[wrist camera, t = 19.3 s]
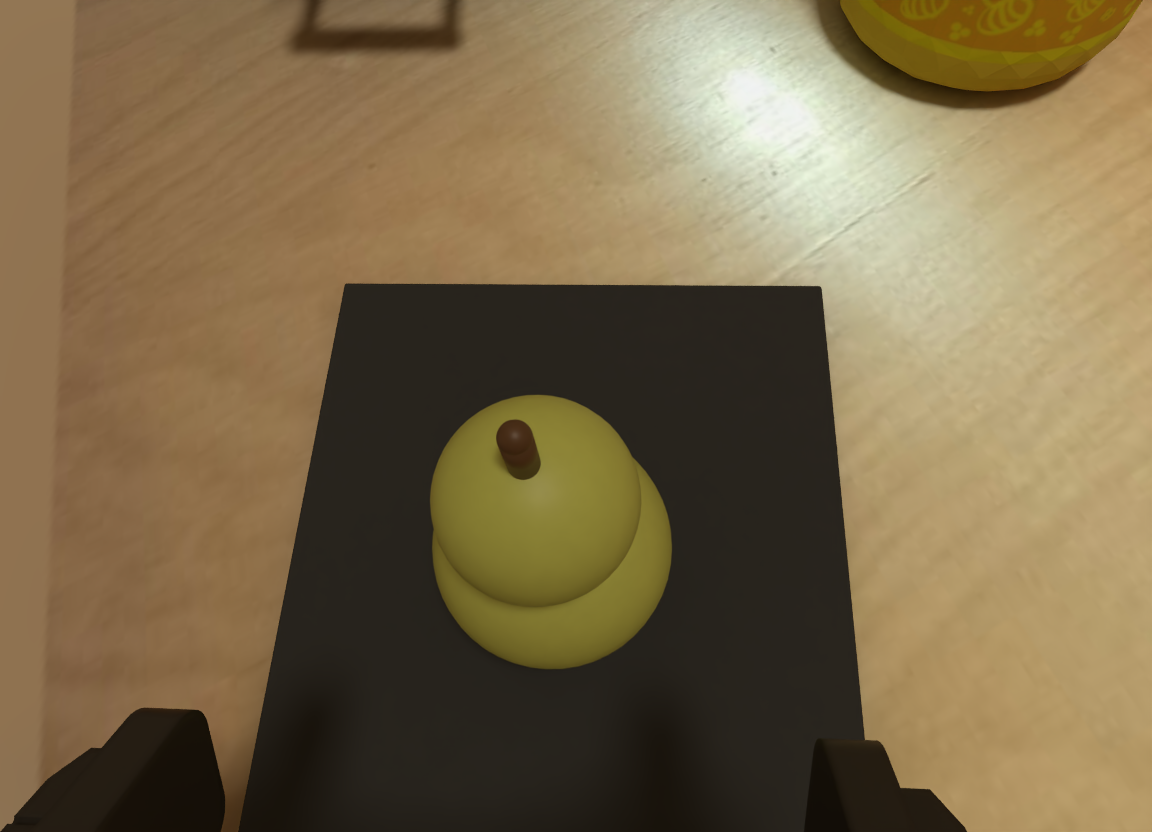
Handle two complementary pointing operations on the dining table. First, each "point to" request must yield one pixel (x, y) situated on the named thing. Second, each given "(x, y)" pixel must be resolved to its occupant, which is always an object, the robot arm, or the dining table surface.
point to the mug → (988, 37)
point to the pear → (547, 533)
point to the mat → (626, 676)
